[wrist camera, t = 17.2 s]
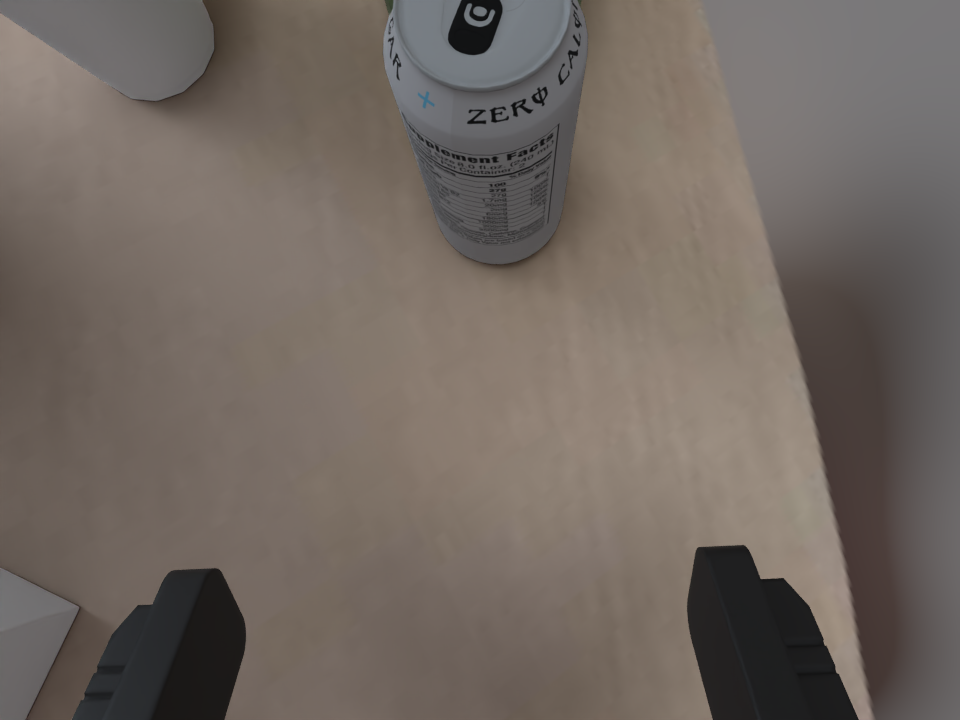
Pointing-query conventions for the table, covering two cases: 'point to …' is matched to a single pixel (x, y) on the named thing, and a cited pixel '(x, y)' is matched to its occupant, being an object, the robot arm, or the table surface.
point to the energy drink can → (490, 114)
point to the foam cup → (125, 40)
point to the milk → (28, 641)
